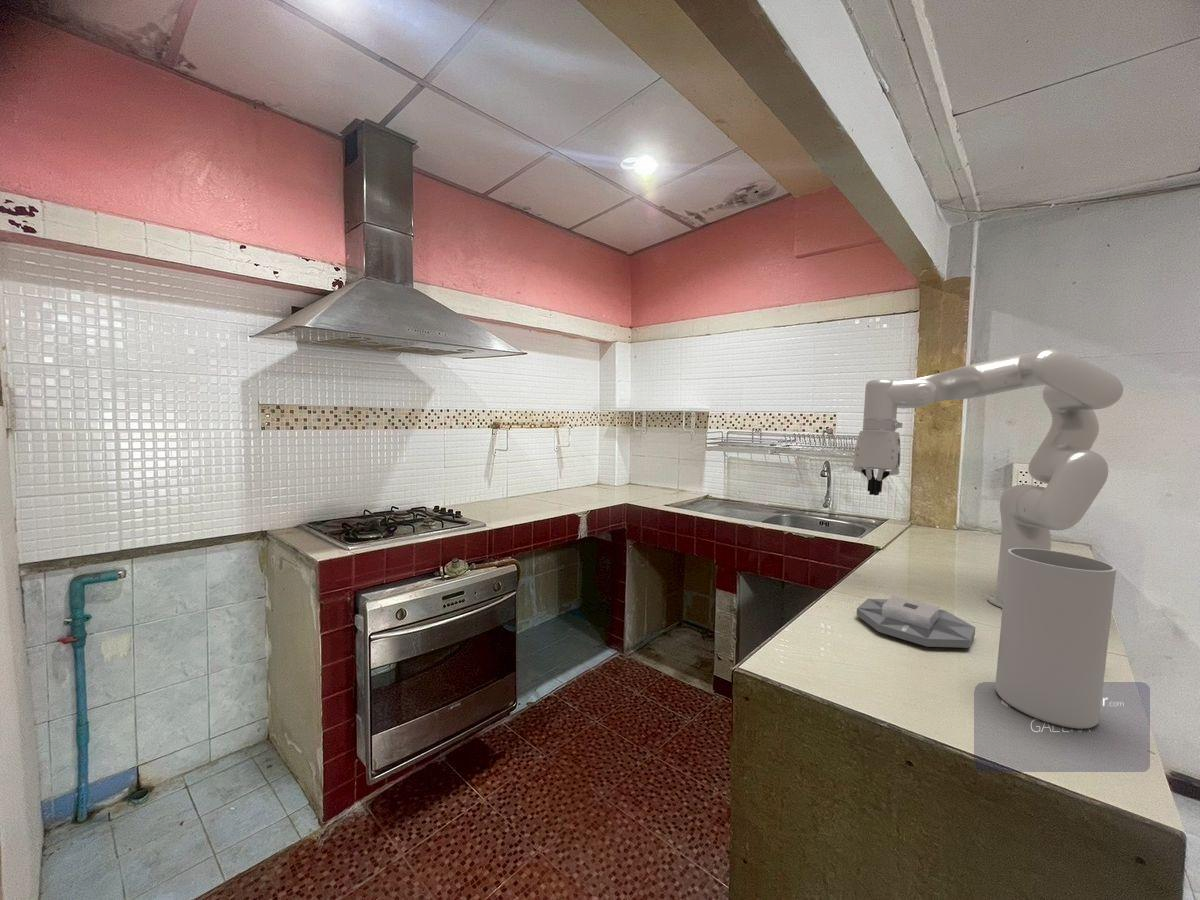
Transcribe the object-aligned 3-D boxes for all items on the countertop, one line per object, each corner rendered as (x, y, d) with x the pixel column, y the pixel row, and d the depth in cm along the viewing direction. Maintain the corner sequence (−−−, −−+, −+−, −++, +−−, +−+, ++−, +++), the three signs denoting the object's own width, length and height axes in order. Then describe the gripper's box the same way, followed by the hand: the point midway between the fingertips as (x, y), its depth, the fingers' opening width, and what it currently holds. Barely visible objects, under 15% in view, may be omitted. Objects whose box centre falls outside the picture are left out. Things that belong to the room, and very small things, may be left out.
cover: (938, 617, 106) (939, 606, 106) (929, 629, 100) (930, 617, 99) (892, 605, 112) (893, 594, 112) (881, 615, 106) (882, 604, 106)
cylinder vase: (977, 681, 84) (989, 546, 83) (1052, 687, 83) (1066, 550, 81) (1033, 727, 72) (1049, 568, 70) (1123, 735, 71) (1142, 574, 69)
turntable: (978, 626, 106) (979, 619, 106) (964, 658, 91) (965, 650, 91) (874, 598, 121) (875, 592, 120) (847, 622, 106) (848, 615, 106)
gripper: (915, 427, 122) (910, 497, 123) (853, 425, 132) (848, 489, 134) (908, 427, 116) (903, 500, 118) (844, 425, 127) (839, 492, 128)
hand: (874, 494), depth 126 cm, fingers closed
